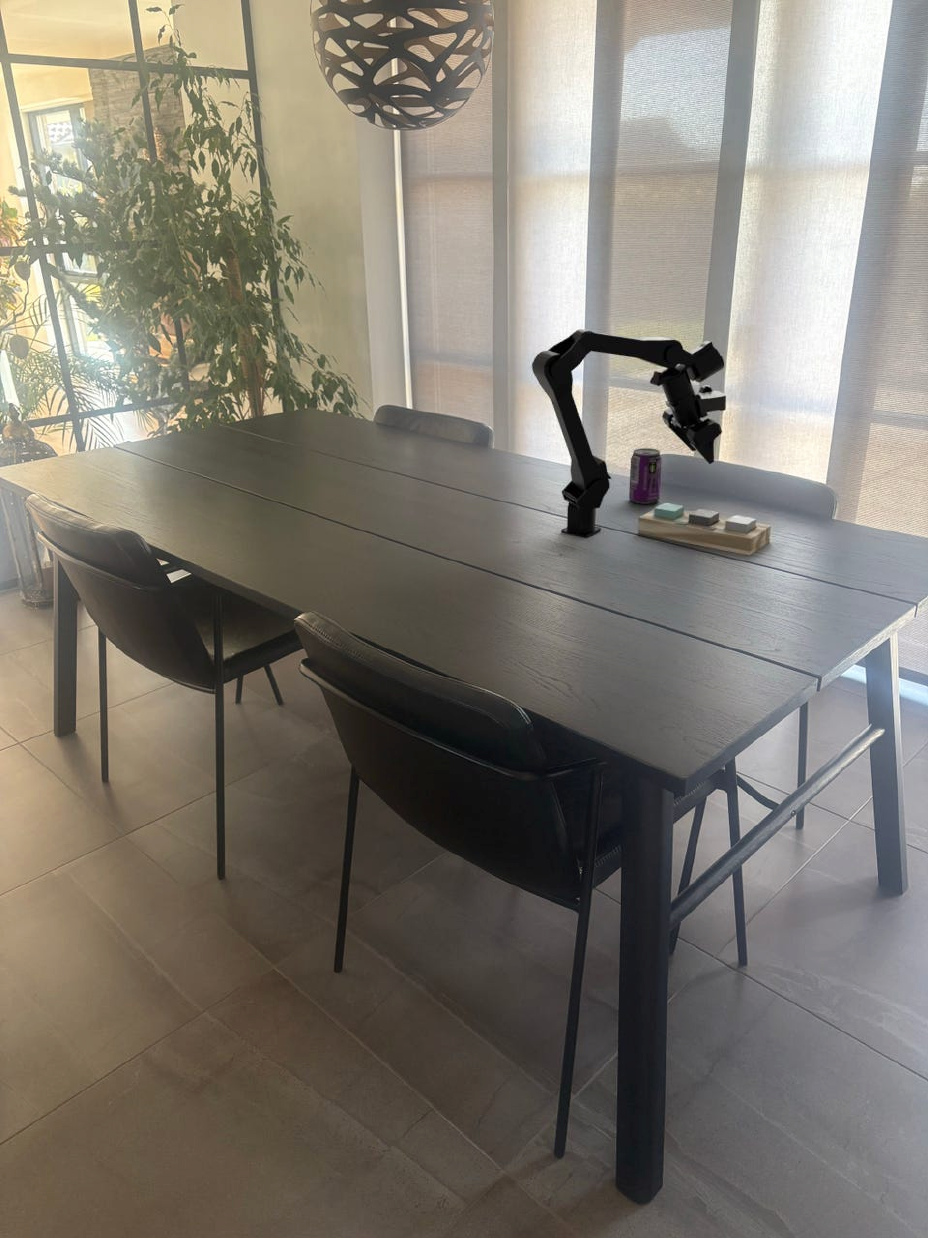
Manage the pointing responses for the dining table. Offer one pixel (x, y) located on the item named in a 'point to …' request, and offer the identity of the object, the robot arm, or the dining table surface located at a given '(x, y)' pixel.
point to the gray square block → (704, 517)
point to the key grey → (740, 524)
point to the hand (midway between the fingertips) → (703, 456)
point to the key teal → (669, 511)
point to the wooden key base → (705, 533)
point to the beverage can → (645, 476)
